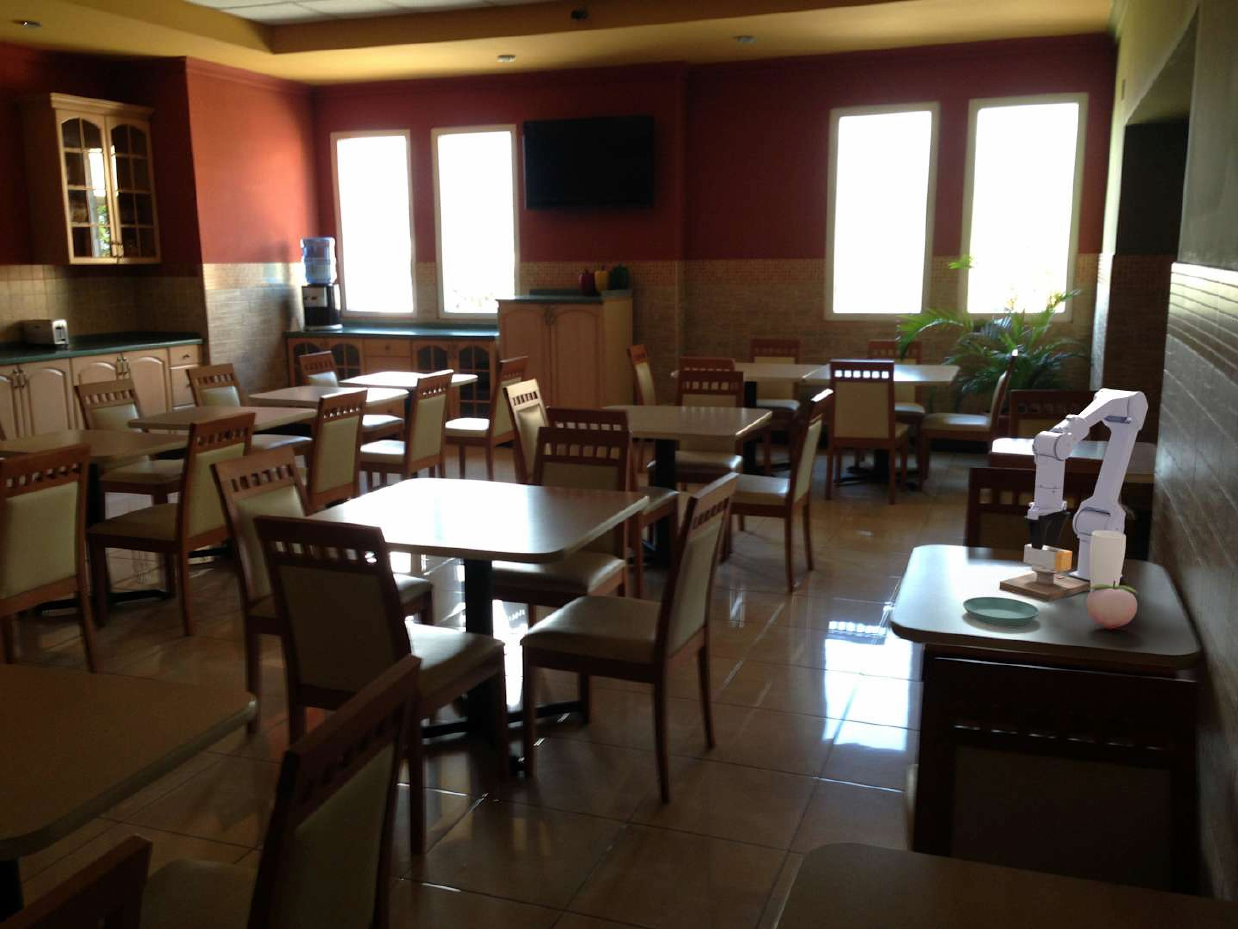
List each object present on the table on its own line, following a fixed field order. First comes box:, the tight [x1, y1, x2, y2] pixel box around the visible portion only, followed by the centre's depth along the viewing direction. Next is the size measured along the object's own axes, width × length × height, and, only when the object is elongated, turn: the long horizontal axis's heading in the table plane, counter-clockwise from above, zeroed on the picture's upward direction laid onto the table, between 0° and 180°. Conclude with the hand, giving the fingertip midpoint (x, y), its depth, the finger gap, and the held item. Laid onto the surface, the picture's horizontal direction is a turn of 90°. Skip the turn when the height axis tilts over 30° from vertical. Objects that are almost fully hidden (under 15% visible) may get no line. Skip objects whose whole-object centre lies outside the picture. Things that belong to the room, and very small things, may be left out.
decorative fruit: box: [1086, 581, 1140, 630], centre depth 205 cm, size 9×8×10 cm
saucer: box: [962, 596, 1040, 627], centre depth 212 cm, size 15×15×3 cm
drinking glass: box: [1089, 530, 1127, 593], centre depth 223 cm, size 7×7×15 cm
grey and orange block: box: [1023, 543, 1073, 575], centre depth 231 cm, size 6×9×5 cm, turn 34°
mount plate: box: [998, 572, 1090, 602], centre depth 232 cm, size 16×12×4 cm
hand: (1044, 545), depth 230 cm, fingers open, 7 cm apart
